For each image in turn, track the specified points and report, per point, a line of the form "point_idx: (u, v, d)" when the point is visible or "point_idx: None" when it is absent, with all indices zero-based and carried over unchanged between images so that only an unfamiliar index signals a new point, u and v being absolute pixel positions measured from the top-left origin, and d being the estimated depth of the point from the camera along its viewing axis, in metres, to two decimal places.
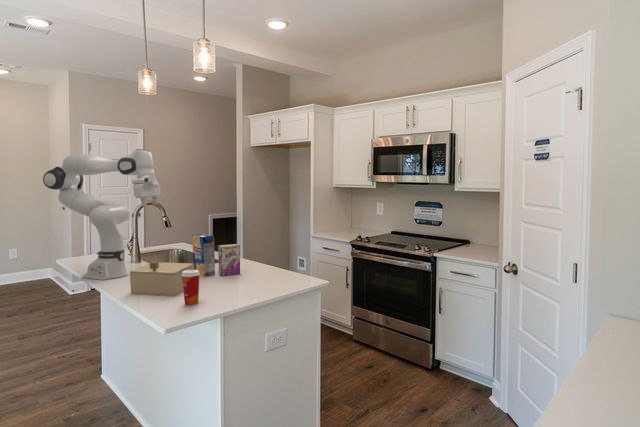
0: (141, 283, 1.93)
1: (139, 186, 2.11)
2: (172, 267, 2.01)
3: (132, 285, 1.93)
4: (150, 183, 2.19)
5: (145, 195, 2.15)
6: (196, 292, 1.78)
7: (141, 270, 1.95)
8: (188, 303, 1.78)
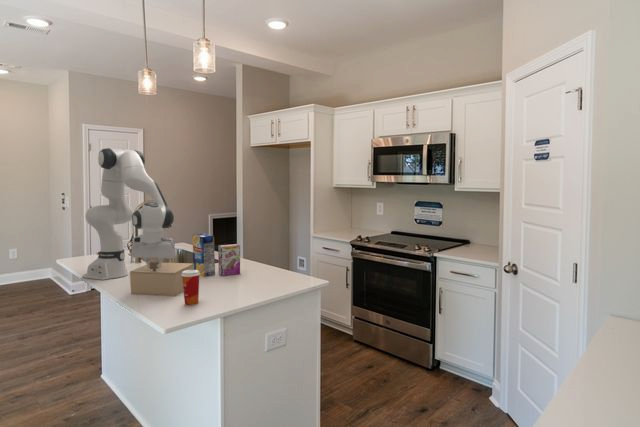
0: (141, 283, 1.93)
1: None
2: (172, 267, 2.01)
3: (132, 285, 1.93)
4: (147, 243, 1.90)
5: (139, 256, 1.92)
6: (196, 292, 1.78)
7: (141, 270, 1.95)
8: (188, 303, 1.78)
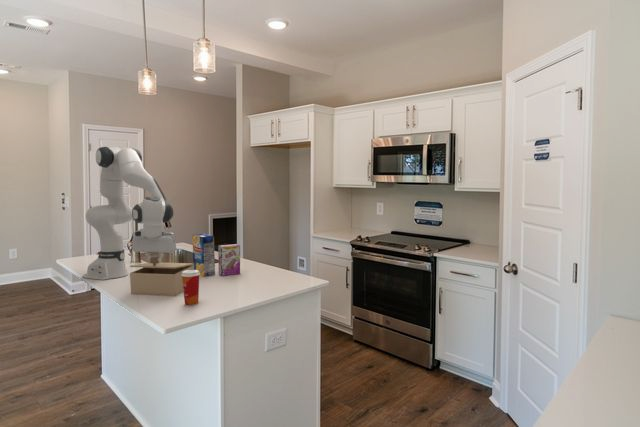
0: (141, 283, 1.93)
1: None
2: (172, 264, 2.01)
3: (132, 285, 1.93)
4: (147, 237, 1.90)
5: (140, 250, 1.92)
6: (196, 292, 1.78)
7: (141, 265, 1.95)
8: (188, 303, 1.78)
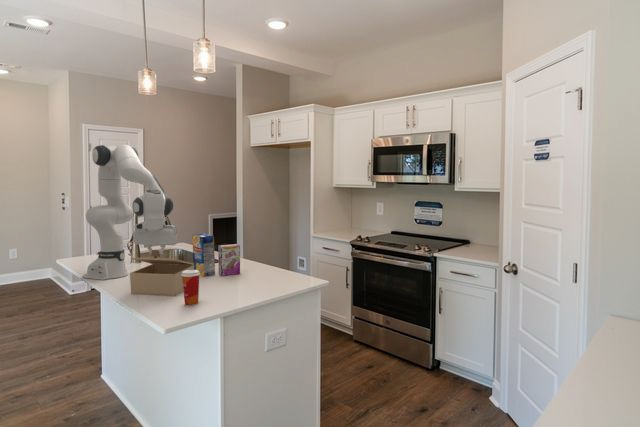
0: (141, 283, 1.93)
1: None
2: (173, 261, 2.01)
3: (132, 285, 1.93)
4: (149, 230, 1.91)
5: (141, 242, 1.93)
6: (196, 292, 1.78)
7: None
8: (188, 303, 1.78)
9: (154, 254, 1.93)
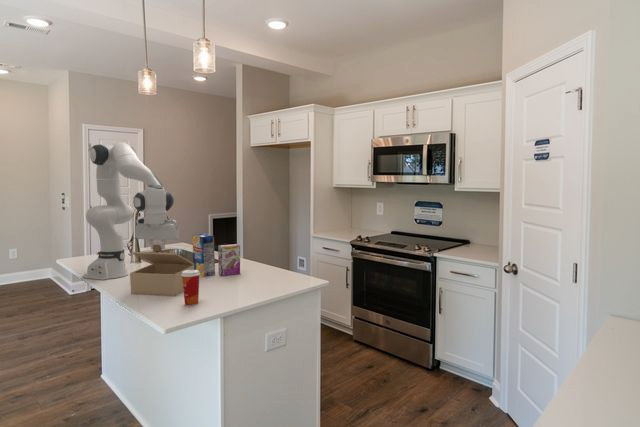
0: (141, 283, 1.93)
1: None
2: None
3: (132, 285, 1.93)
4: (150, 225, 1.93)
5: (143, 237, 1.95)
6: (196, 292, 1.78)
7: None
8: (188, 303, 1.78)
9: (155, 249, 1.94)
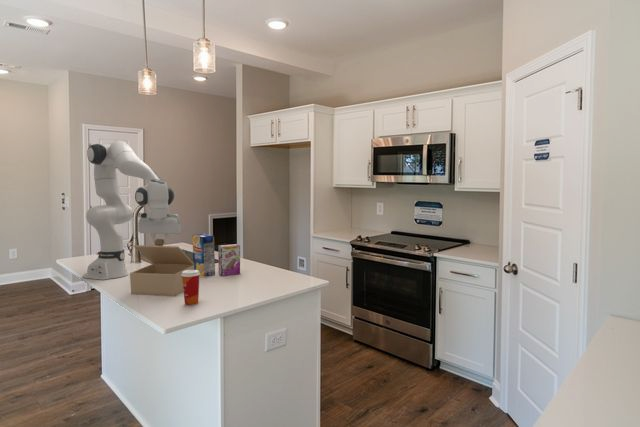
0: (141, 283, 1.93)
1: None
2: None
3: (132, 285, 1.93)
4: (153, 219, 1.95)
5: (146, 231, 1.97)
6: (196, 292, 1.78)
7: None
8: (188, 303, 1.78)
9: (157, 243, 1.96)
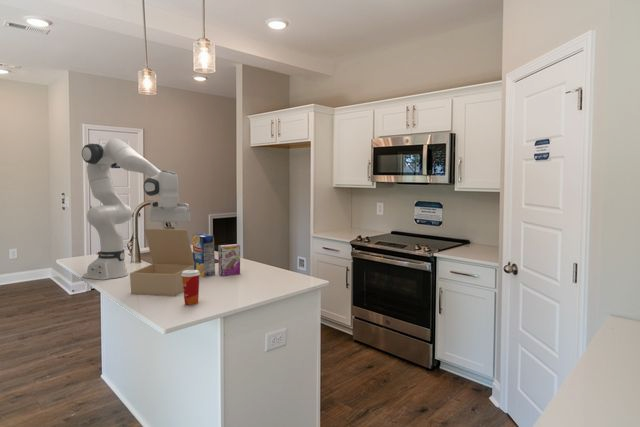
0: (141, 283, 1.93)
1: None
2: None
3: (132, 285, 1.93)
4: (164, 208, 2.04)
5: (157, 219, 2.07)
6: (196, 292, 1.78)
7: None
8: (188, 303, 1.78)
9: (167, 228, 2.05)
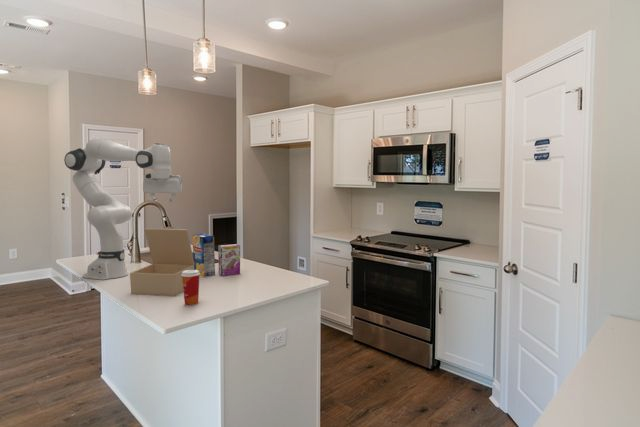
0: (141, 283, 1.93)
1: None
2: None
3: (132, 285, 1.93)
4: (157, 179, 2.13)
5: (150, 191, 2.15)
6: (196, 292, 1.78)
7: None
8: (188, 303, 1.78)
9: (167, 228, 2.05)
